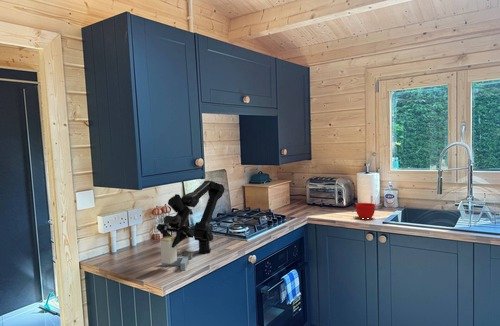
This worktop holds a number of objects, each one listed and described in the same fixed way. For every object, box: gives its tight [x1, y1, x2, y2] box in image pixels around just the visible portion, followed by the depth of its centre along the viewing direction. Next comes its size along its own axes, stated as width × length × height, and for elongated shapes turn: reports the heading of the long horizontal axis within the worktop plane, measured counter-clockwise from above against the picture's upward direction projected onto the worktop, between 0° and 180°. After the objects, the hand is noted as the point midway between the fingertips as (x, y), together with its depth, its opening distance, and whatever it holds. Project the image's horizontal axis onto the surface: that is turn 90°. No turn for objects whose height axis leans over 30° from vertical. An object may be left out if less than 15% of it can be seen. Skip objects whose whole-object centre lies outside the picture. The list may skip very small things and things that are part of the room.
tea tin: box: [159, 235, 178, 264], centre depth 163 cm, size 5×5×11 cm
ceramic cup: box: [355, 202, 376, 220], centre depth 253 cm, size 13×17×10 cm
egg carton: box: [177, 248, 195, 261], centre depth 177 cm, size 11×8×4 cm
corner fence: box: [161, 256, 189, 272], centre depth 167 cm, size 10×12×4 cm
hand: (167, 246), depth 163 cm, fingers closed on tea tin, 5 cm apart
